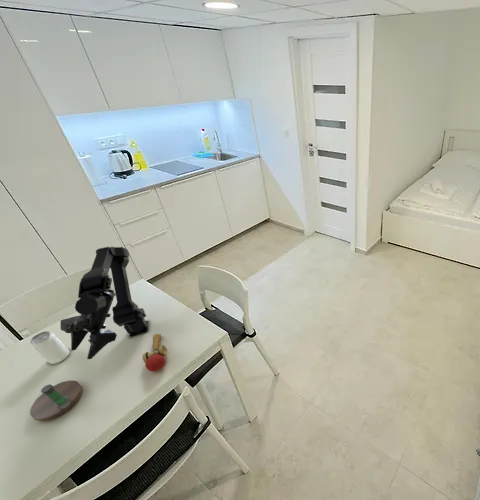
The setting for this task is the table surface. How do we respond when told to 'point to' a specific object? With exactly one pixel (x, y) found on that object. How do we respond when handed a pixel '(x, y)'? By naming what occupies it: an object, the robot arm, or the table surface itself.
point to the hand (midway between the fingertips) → (81, 354)
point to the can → (49, 347)
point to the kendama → (155, 355)
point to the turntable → (55, 400)
